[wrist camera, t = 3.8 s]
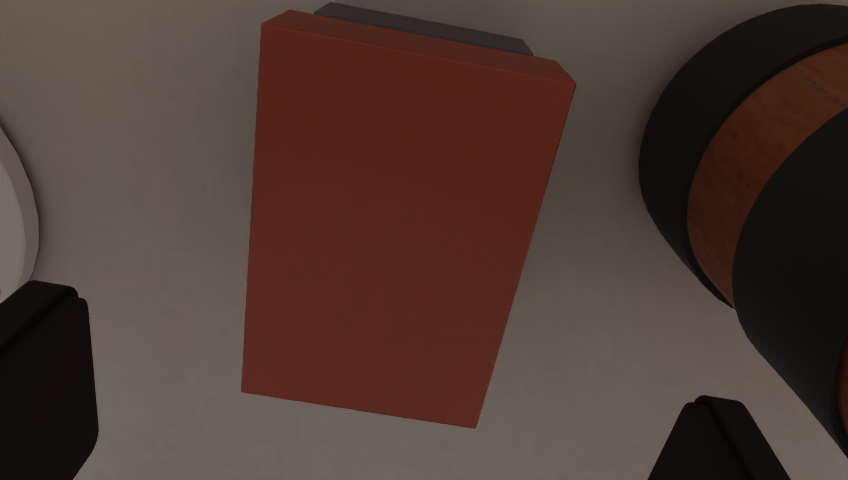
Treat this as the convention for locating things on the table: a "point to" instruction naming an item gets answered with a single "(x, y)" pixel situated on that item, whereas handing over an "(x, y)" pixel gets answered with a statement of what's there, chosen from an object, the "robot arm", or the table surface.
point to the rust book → (391, 213)
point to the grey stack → (424, 27)
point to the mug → (765, 190)
